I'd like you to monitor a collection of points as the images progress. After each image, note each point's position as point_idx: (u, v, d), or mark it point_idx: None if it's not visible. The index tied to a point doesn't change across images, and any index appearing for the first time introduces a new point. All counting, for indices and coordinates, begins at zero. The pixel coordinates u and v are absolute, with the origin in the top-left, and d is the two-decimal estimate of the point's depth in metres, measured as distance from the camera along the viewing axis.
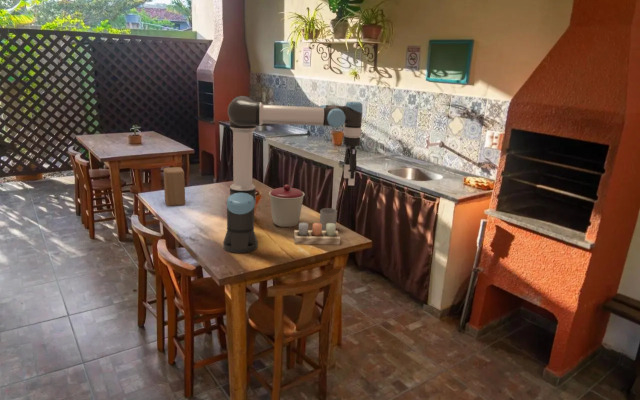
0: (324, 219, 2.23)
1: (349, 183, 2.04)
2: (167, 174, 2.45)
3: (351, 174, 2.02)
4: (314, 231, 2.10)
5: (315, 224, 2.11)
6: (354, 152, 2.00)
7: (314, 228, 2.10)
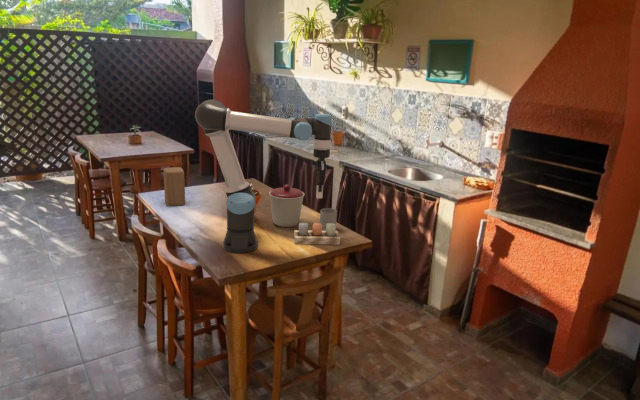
0: (324, 219, 2.23)
1: (317, 196, 2.11)
2: (167, 174, 2.45)
3: (319, 187, 2.09)
4: (314, 231, 2.10)
5: (315, 224, 2.11)
6: (323, 169, 2.02)
7: (314, 228, 2.10)
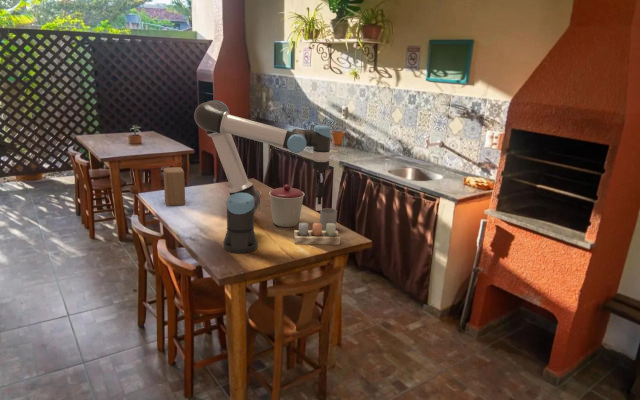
0: (324, 219, 2.23)
1: (317, 208, 2.08)
2: (167, 174, 2.45)
3: (318, 200, 2.06)
4: (314, 231, 2.10)
5: (315, 224, 2.11)
6: (322, 181, 2.00)
7: (314, 228, 2.10)
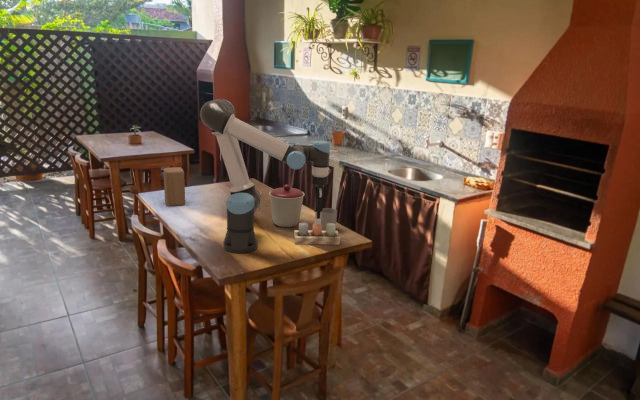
0: (324, 219, 2.23)
1: (316, 222, 2.10)
2: (167, 174, 2.45)
3: (317, 214, 2.08)
4: (314, 231, 2.10)
5: None
6: (321, 196, 2.01)
7: (314, 228, 2.10)
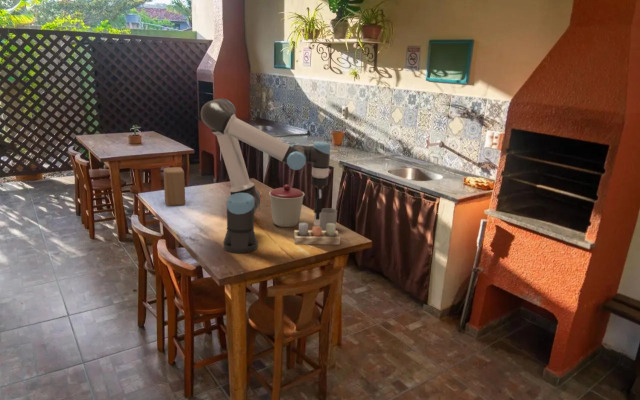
0: (324, 219, 2.23)
1: (315, 223, 2.10)
2: (167, 174, 2.45)
3: (316, 215, 2.08)
4: (314, 235, 2.11)
5: (315, 228, 2.11)
6: (320, 197, 2.02)
7: (314, 232, 2.11)
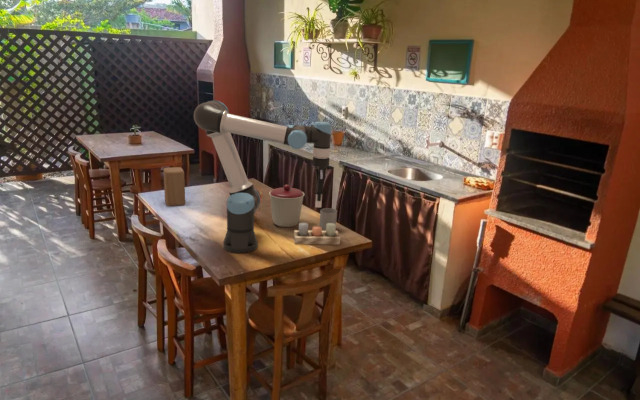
0: (324, 219, 2.23)
1: (316, 205, 2.08)
2: (167, 174, 2.45)
3: (318, 196, 2.06)
4: (314, 235, 2.11)
5: (315, 228, 2.11)
6: (322, 178, 1.99)
7: (314, 232, 2.11)
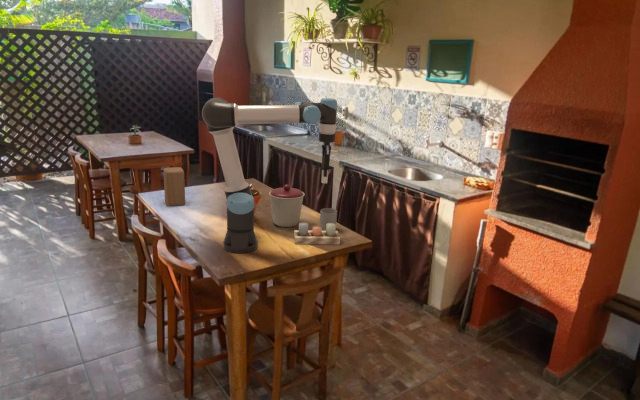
0: (324, 219, 2.23)
1: (322, 181, 2.12)
2: (167, 174, 2.45)
3: (324, 172, 2.10)
4: (314, 235, 2.11)
5: (315, 228, 2.11)
6: (328, 153, 2.03)
7: (314, 232, 2.11)
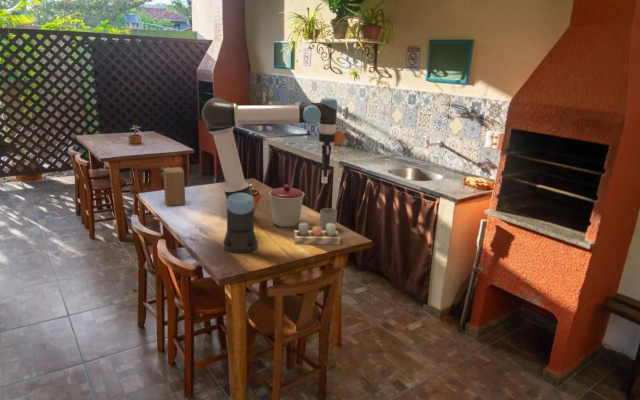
0: (324, 219, 2.23)
1: (322, 181, 2.12)
2: (167, 174, 2.45)
3: (324, 172, 2.10)
4: (314, 235, 2.11)
5: (315, 228, 2.11)
6: (328, 153, 2.03)
7: (314, 232, 2.11)
